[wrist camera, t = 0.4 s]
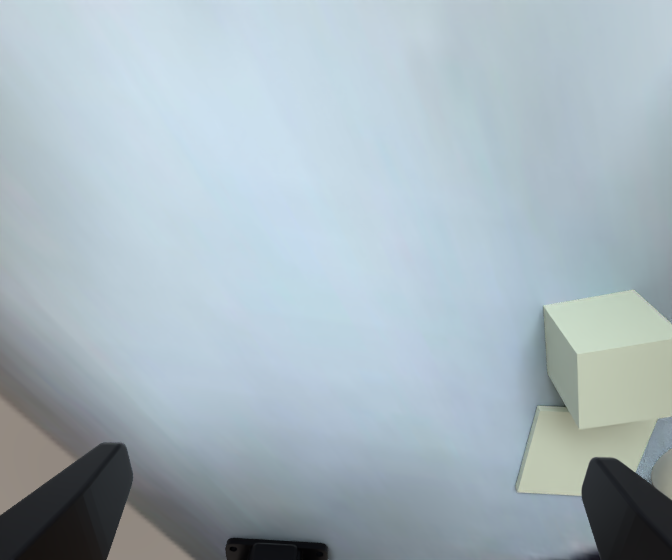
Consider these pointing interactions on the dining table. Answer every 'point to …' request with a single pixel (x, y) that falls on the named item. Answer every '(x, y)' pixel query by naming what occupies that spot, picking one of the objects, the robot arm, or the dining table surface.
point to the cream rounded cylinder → (663, 474)
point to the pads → (575, 450)
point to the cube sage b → (610, 358)
